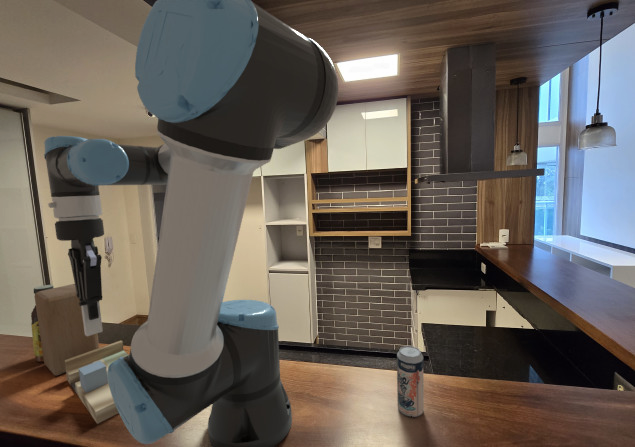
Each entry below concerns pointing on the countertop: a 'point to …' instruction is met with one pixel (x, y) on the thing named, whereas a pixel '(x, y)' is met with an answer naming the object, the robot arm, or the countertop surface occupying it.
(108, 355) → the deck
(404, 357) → the beer can
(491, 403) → the countertop surface
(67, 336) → the block
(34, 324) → the sauce bottle
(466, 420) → the countertop surface
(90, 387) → the cube
